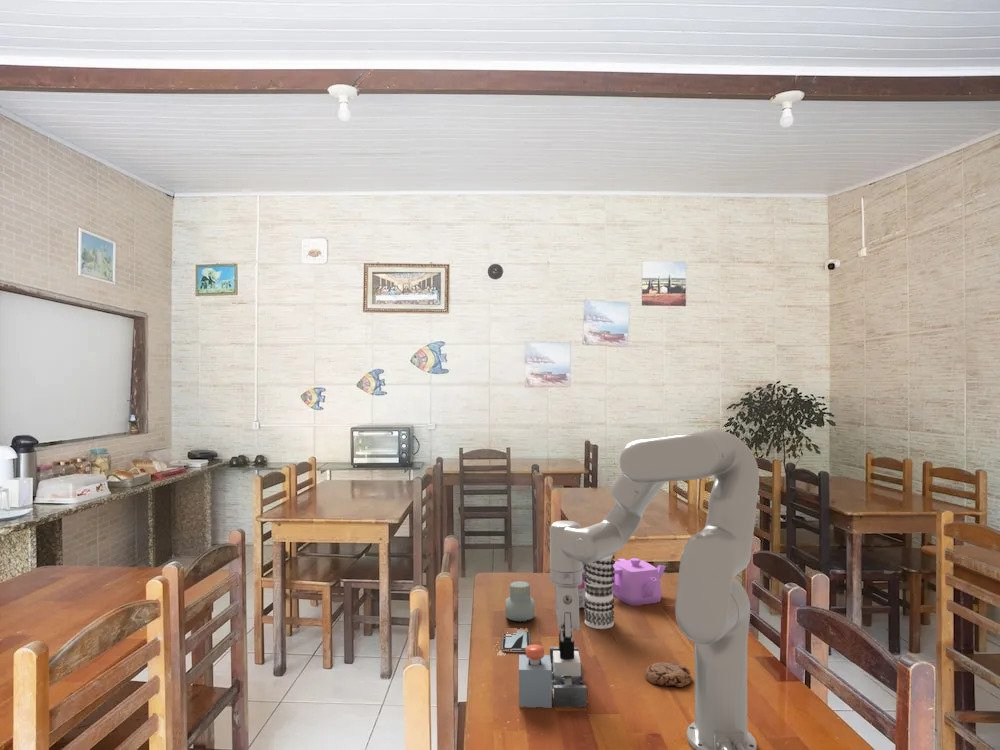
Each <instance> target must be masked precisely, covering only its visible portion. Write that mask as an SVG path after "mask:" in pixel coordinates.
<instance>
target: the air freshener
mask: <svg viewBox="0 0 1000 750" xmlns="http://www.w3.org/2000/svg"><path fill="white" fill-rule="evenodd" d="M530 586H531V585H530V583H528V582H526V581H521V580H518V581H512V582H511V583H510V584H509V596H508V597H507V598H506V599H505V618H507V619H509V620H511V621H514V622H518V621H519V623H520V622H521V621H523V622H527V620H528V621H529V620H530V621H531V620H533V619H534V618H535V599H534V598H532V597H531V589H530V588H531V587H530ZM521 623H522V622H521Z"/></svg>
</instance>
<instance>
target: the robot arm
mask: <svg viewBox="0 0 1000 750" xmlns="http://www.w3.org/2000/svg"><path fill="white" fill-rule="evenodd" d="M758 466H759V465H758V462H757V460H756V458H755V455H754V453H753V451H752V450H751V449H750V448H749V446H748V445H747V444H746V443H745V442H744V441H743V440H742V439H740V438H739V437H738V436H736V435H734V434H732V433H731V432H727V431H725V430H718V429H711V430H705V431H699V432H693V433H687V434H680V435H673V436H666V437H660V436H659V437H658V436H654V437H647V438H639V439H636V440H632V441H631V442H629V443H627V444H626V446H624V448H623V449H622V451H621V453H620V457H619V467H620V470H621V472H620V473H619V475H618V476H617V478H616V479H615V480H614V482H613V483H612V484H611V486H610V494H611V496H612V498H613V500H614V501H615V502H614V505H613V506H612V508H611V509H610V511H609V512H608V513H607V514H606V515H605V517H604V518H603V520H601V521H600V522H598V523H595V524H592V525H589V526H586V527H582V526H581V524H580V523H578V522H576V521H574V520H557V521H554V522H552V523H551V524H550V526H549V583H550V584H552V585H553V586H554V588H555V589H554V592H555V593H554V595H555V601H554V602H555V612H556V615H555V616H556V622H557V629H559V631H560V630H561V641H560V633H558V647H559V651H560V658H561V659H574V647H575V640H574V630H576V631H579V630H580V609H579V591H578V586H579V585H581V584H582V562H583V563H594V562H596V561H598V560H601V559H603V558H605V557H607V556H610V555H612V554H613V555H614V554H616V553H618V552H619V551H620V550H622V549H623V547H624V546H625V545H626V544H627V542H628V541H629V540H630V539H631V537H632V536H633V535H634V534H635V532H636V531H637V530H638V529H639V526H640V525H641V522H642V519H643V517H644V512H645V510H646V508H647V507H648V506H649V505H650V503H651V502H652V501H653V499H655V497H656V496H657V494H658V493H659V492H660V490H661V489H662V487H664V485H665V484H666V483H668V482H680V481H695V480H701V479H705V478H708V477H711V476H713V478H714V480H713V484H712V485H713V486H712V488H711V492H710V493H709V498H708V507H707V508H708V509H707V514H706V521H705V526H704V528H702V530H701V531H700V530H699V531H698V532H697V533H695V534H693V535H692V536H691V537H690V538H689V539H688V540H687V541H686V543H685V545H684V547H683V550H682V551H681V556H680V561H679V569H678V578H677V587H676V593H675V594H676V595H675V604H674V612H675V619H676V623H677V625H678V628H679V629H680V631H681V632H682V633H683V635H684V636H685V637H687V639H688V640H689V641H692V642H694V721H693V722H691V723H690V724H689V725H688V726H687V729H686V738H687V742H688V743H689V745H690V746H691V747H692V748H693V749H694V750H757V749H758V748H757V745H758V744H757V741H756V738H755V737H754V736H753V734H752V733H751V732H749V731H748V638H749V630H750V628H749V627H750V619H751V603H750V598H749V595H748V593H747V591H746V589H745V587H744V586H743V585H742V584H741V582H739V580H737V579H735V578H734V577H736V576H737V575H738V574H740V573H741V572H742V571H744V570H745V569H746V568H747V567H748V565H749V564H750V561H751V558H752V550H753V540H754V532H755V525H756V524H755V523H756V516H757V515H756V513H757V506H758V505H757V503H758V497H759V496H758V495H759V489H760V471H759V467H758ZM563 631H565V633H564V634H563Z"/></svg>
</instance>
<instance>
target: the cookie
mask: <svg viewBox="0 0 1000 750" xmlns="http://www.w3.org/2000/svg"><path fill="white" fill-rule="evenodd" d="M645 679H646V681H648V682H649V683H650V684H653V685H659V686H664V687H668V686H675V687H677V688H683V687H685V686H688V685H690V684H691V682H693V677H692V675H691V670H690V668H688V667H687V666H684V665H682V664H679V663H677V662H656V663H653V664H650V665H649V666H647V668H646V670H645Z"/></svg>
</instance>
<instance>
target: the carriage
mask: <svg viewBox="0 0 1000 750" xmlns="http://www.w3.org/2000/svg"><path fill="white" fill-rule="evenodd" d="M564 633H565V631H563V634H564ZM559 634H560V641H561V630H560V629H559ZM579 652H580V651H579V650H578V651H574V659H561V658H560V651H553V664H551V670H552V681H554V676H580V681H584V672H583V671H582V670H583V668H582V662H581V658H580V653H579ZM553 668H554V672H553Z"/></svg>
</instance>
